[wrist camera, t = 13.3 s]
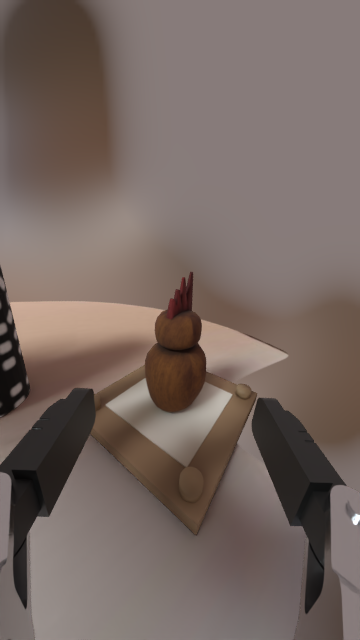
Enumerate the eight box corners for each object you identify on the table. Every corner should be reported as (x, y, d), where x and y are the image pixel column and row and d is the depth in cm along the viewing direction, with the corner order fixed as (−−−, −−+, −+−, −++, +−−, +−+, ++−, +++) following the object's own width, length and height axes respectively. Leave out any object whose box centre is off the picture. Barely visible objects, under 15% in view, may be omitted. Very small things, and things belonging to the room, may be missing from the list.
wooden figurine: (181, 378, 27) (190, 269, 22) (210, 403, 23) (229, 276, 18) (137, 396, 23) (135, 269, 18) (161, 431, 19) (168, 277, 14)
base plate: (72, 416, 21) (70, 401, 20) (163, 359, 34) (164, 348, 33) (196, 535, 13) (199, 516, 12) (255, 400, 25) (258, 387, 25)
